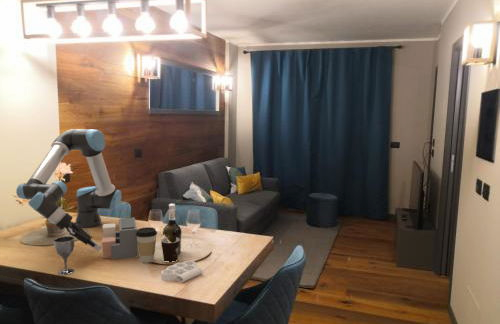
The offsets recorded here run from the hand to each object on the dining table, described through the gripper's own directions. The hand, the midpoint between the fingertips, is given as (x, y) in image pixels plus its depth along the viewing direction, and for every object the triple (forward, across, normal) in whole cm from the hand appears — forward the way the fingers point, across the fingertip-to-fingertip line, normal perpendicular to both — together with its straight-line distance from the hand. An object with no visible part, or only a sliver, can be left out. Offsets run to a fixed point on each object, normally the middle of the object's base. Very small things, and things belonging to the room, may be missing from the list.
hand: (99, 249), depth 195 cm
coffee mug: (+26, +14, +21) cm, 36 cm away
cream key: (+6, -10, 0) cm, 12 cm away
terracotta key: (+6, 0, 0) cm, 6 cm away
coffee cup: (+18, +12, +12) cm, 25 cm away
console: (+11, -5, +5) cm, 13 cm away
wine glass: (-7, +15, -12) cm, 21 cm away
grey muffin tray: (+27, +33, +21) cm, 48 cm away
